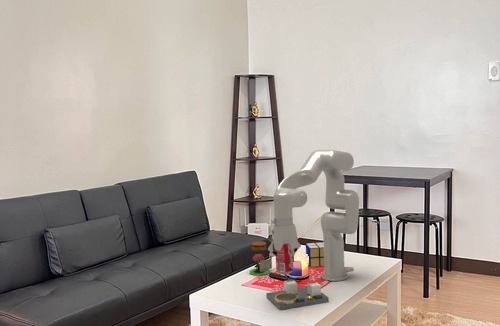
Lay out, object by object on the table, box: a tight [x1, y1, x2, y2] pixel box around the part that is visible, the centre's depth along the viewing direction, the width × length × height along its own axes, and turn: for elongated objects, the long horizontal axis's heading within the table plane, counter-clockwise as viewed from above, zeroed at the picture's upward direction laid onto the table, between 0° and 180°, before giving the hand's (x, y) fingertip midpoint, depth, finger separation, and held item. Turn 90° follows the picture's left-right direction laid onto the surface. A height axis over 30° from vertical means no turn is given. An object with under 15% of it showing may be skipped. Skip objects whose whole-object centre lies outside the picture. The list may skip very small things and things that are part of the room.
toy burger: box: [249, 241, 273, 277], centre depth 272 cm, size 12×13×15 cm
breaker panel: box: [265, 286, 330, 311], centre depth 234 cm, size 22×16×3 cm
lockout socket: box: [275, 293, 298, 304], centre depth 229 cm, size 10×10×1 cm
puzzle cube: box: [305, 241, 324, 268], centre depth 284 cm, size 10×10×10 cm
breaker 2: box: [306, 281, 322, 296], centre depth 234 cm, size 4×5×5 cm
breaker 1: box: [283, 279, 298, 294], centre depth 237 cm, size 4×5×5 cm
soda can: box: [274, 243, 294, 275], centre depth 227 cm, size 7×7×13 cm
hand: (285, 264), depth 228 cm, fingers closed on soda can, 4 cm apart
